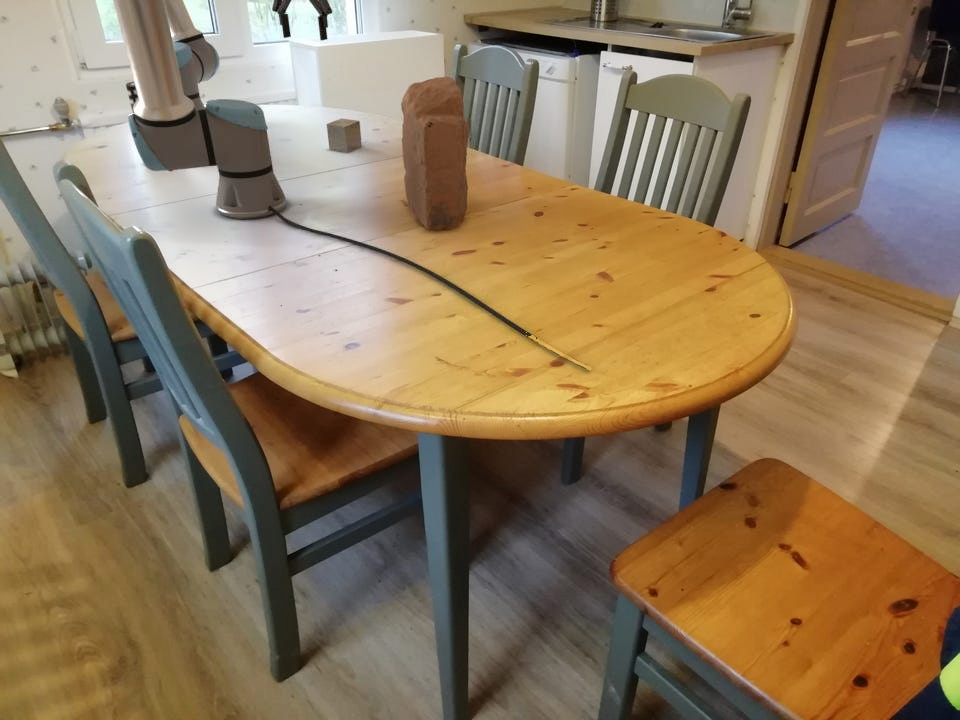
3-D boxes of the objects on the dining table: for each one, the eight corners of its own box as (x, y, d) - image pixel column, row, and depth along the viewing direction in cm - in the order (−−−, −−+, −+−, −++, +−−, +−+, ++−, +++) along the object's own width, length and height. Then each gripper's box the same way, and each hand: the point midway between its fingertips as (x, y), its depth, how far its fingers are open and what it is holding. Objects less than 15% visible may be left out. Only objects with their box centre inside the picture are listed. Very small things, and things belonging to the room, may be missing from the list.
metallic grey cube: (361, 146, 202) (359, 120, 198) (347, 152, 196) (345, 126, 192) (343, 143, 204) (341, 118, 200) (329, 149, 198) (326, 123, 194)
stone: (478, 228, 148) (477, 89, 134) (427, 234, 145) (421, 93, 131) (450, 199, 166) (446, 74, 151) (404, 203, 163) (396, 76, 148)
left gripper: (338, -41, 201) (346, 39, 212) (268, -42, 209) (279, 34, 221) (324, -40, 195) (332, 42, 207) (252, -41, 203) (264, 37, 215)
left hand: (305, 38), depth 214 cm, fingers open, 13 cm apart
